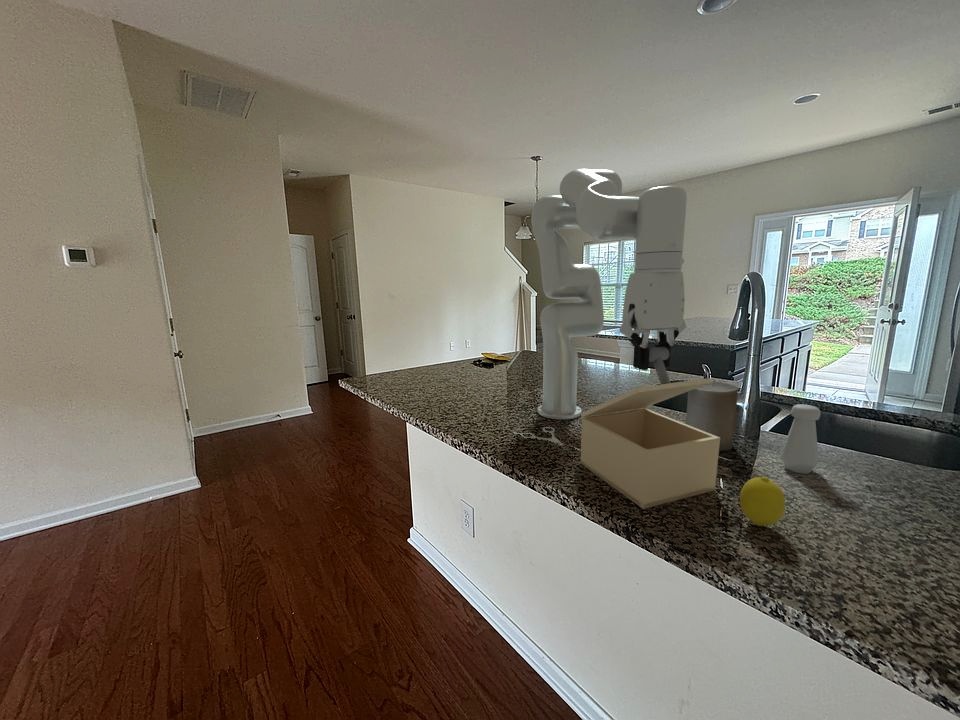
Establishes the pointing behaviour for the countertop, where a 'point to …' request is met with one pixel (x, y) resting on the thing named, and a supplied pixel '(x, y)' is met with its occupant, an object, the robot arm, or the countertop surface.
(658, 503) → the carton
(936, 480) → the countertop surface
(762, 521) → the lemon
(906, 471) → the countertop surface
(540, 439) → the scissors
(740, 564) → the countertop surface
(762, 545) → the countertop surface
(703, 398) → the pillar candle
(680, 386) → the carton flap
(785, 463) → the salt shaker
